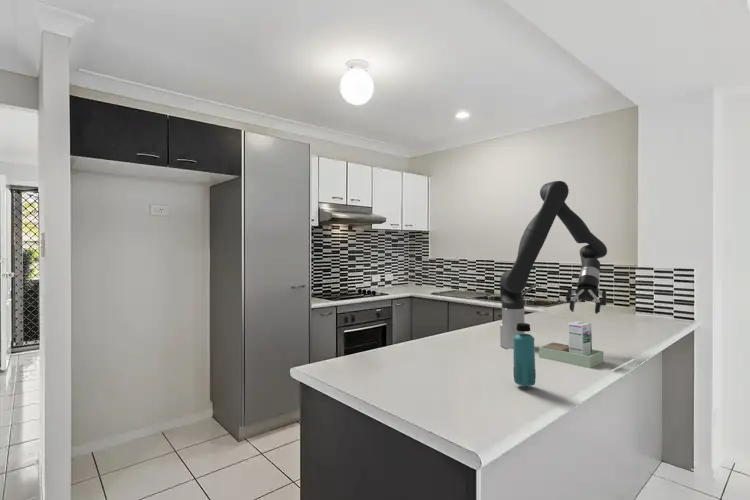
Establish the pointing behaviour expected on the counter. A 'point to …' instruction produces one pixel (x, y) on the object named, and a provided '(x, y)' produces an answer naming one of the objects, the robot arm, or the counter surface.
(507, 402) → the counter surface
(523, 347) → the beverage bottle
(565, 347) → the coffee brick
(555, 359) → the tray
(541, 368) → the counter surface
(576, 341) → the syrup box
